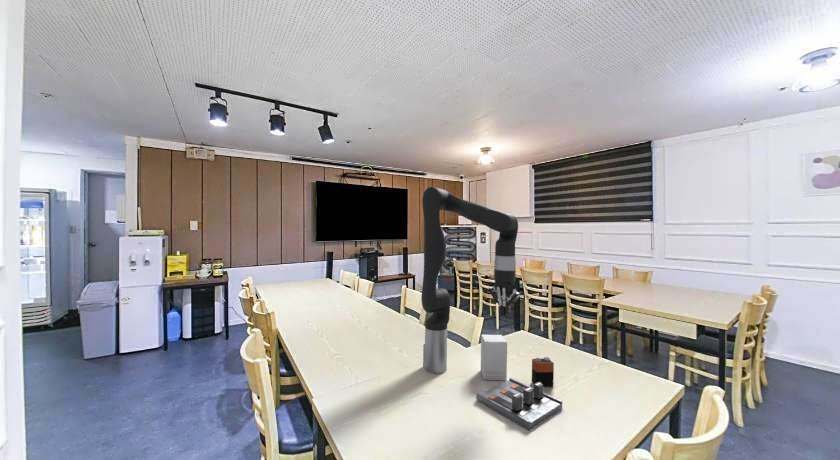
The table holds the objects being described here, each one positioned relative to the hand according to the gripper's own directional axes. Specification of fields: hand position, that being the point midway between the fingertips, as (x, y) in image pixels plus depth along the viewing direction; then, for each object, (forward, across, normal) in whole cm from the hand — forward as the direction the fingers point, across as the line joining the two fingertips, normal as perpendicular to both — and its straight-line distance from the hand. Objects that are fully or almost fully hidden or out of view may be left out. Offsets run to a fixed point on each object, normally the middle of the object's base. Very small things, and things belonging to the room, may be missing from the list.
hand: (504, 316), depth 114 cm
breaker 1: (+25, +13, -9) cm, 29 cm away
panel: (+27, +9, -4) cm, 29 cm away
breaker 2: (+24, +13, -3) cm, 28 cm away
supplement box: (+27, -10, +7) cm, 30 cm away
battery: (+27, +6, +16) cm, 32 cm away
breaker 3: (+24, +13, +2) cm, 28 cm away
